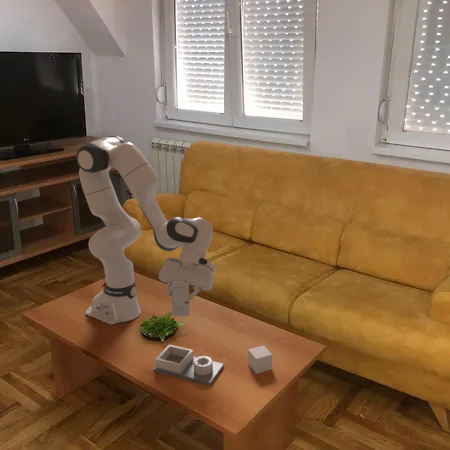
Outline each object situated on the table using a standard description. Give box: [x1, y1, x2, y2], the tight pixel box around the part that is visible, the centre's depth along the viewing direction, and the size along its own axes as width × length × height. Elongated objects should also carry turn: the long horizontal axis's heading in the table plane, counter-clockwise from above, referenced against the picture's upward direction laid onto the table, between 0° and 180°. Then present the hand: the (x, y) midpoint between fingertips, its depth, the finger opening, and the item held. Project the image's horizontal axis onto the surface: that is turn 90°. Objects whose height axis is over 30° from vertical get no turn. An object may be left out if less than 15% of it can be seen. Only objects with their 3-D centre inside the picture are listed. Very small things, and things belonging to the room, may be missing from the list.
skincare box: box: [171, 280, 191, 317], centre depth 180 cm, size 6×4×12 cm
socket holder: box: [153, 344, 225, 387], centre depth 173 cm, size 21×11×4 cm, turn 67°
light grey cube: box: [247, 345, 273, 375], centre depth 173 cm, size 6×6×6 cm
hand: (179, 297), depth 180 cm, fingers closed on skincare box, 7 cm apart
